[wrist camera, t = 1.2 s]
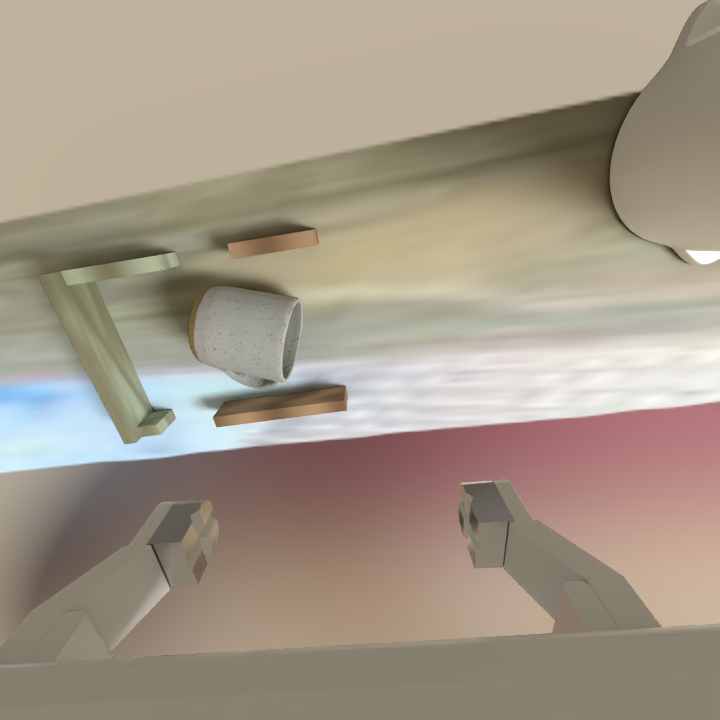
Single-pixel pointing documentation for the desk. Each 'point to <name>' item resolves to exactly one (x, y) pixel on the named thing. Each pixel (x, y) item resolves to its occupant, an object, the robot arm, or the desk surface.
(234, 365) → the ceramic mug
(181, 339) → the desk surface
